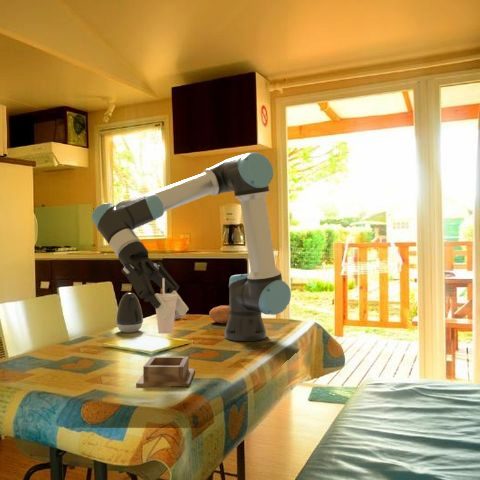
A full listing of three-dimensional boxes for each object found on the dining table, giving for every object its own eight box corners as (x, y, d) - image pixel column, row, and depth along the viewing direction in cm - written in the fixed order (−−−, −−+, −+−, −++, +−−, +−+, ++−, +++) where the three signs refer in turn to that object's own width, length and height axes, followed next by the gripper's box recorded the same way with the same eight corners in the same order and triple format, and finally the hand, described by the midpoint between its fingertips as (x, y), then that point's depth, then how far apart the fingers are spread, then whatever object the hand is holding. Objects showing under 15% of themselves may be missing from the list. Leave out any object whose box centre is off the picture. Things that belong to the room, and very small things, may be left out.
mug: (161, 319, 209) (161, 304, 209) (166, 317, 216) (166, 302, 216) (183, 320, 207) (183, 305, 207) (187, 317, 214) (187, 302, 214)
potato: (231, 325, 194) (231, 307, 194) (206, 324, 197) (206, 306, 197) (238, 321, 203) (238, 304, 203) (213, 320, 206) (213, 303, 206)
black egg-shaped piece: (119, 335, 176) (119, 294, 176) (113, 330, 185) (113, 291, 185) (146, 332, 181) (146, 293, 180) (139, 328, 190) (138, 290, 190)
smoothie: (154, 329, 125) (154, 277, 125) (178, 329, 126) (178, 277, 125) (152, 334, 119) (151, 279, 119) (177, 334, 119) (177, 279, 119)
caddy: (194, 371, 129) (194, 355, 129) (188, 386, 116) (188, 368, 116) (147, 371, 129) (147, 355, 129) (136, 386, 116) (135, 368, 116)
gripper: (146, 257, 138) (191, 318, 130) (95, 260, 122) (142, 330, 113) (160, 239, 135) (206, 300, 127) (109, 240, 119) (159, 310, 111)
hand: (176, 314), depth 120 cm, fingers closed on smoothie, 6 cm apart
